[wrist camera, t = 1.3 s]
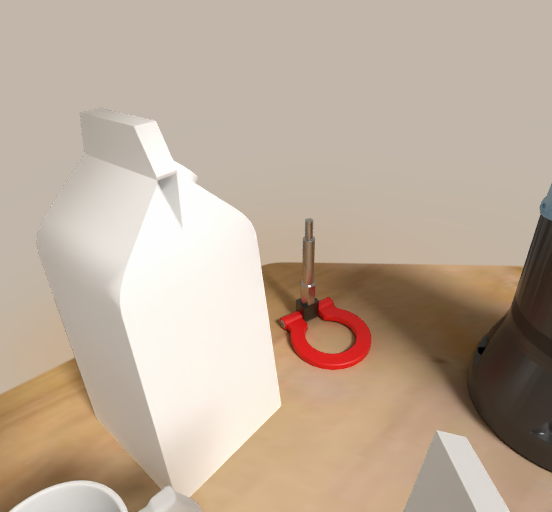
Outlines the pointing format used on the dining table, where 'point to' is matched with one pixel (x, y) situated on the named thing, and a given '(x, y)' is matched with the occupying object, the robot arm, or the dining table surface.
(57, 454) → the dining table surface
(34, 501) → the mug
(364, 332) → the tow hook
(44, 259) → the milk
